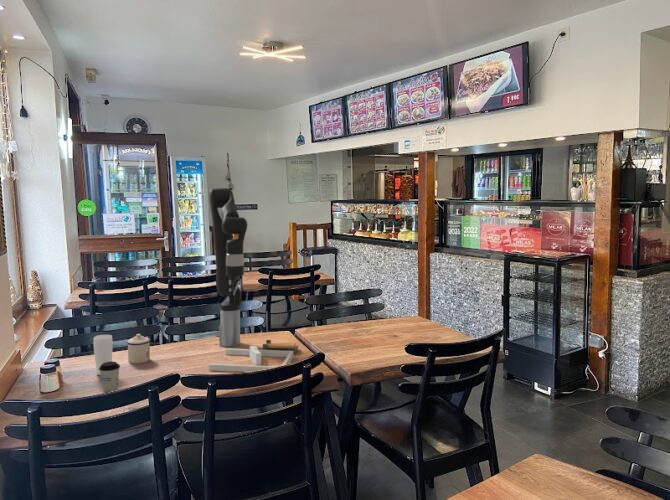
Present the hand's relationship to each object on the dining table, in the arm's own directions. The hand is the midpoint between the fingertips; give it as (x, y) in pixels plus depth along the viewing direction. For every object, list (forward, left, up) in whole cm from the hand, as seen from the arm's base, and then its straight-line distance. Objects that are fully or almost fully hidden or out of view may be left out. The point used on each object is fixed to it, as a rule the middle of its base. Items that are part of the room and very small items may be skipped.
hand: (235, 301), depth 207 cm
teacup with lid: (-42, -4, -26) cm, 50 cm away
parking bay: (+8, -2, -26) cm, 27 cm away
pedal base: (+16, +16, -26) cm, 35 cm away
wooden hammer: (+16, +16, -24) cm, 33 cm away
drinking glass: (-47, -22, -26) cm, 58 cm away
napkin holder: (+9, +2, -27) cm, 28 cm away
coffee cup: (-35, -38, -26) cm, 58 cm away
